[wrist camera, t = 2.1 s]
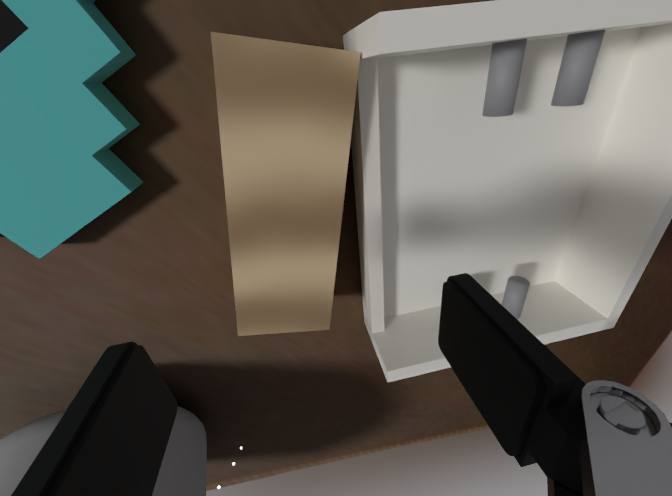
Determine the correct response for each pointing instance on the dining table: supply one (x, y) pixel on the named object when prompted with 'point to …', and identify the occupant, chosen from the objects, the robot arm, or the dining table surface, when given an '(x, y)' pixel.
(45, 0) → the alien figure
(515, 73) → the carcass
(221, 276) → the dining table surface
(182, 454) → the jar
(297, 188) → the shelf board
